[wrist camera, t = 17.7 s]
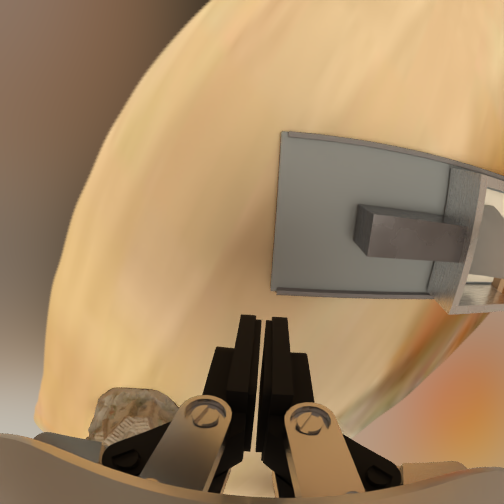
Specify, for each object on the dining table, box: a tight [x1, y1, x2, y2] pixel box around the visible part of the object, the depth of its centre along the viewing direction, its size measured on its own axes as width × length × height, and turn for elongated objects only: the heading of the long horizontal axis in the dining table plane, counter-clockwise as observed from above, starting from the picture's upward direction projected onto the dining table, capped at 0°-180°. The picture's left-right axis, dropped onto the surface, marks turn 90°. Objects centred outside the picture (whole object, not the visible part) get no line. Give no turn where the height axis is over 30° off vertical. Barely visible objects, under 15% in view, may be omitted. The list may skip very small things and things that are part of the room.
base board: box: [271, 131, 504, 299], centre depth 22 cm, size 13×26×2 cm, turn 87°
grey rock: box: [86, 388, 179, 446], centre depth 28 cm, size 16×16×15 cm
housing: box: [353, 168, 504, 314], centre depth 20 cm, size 12×18×4 cm, turn 87°
